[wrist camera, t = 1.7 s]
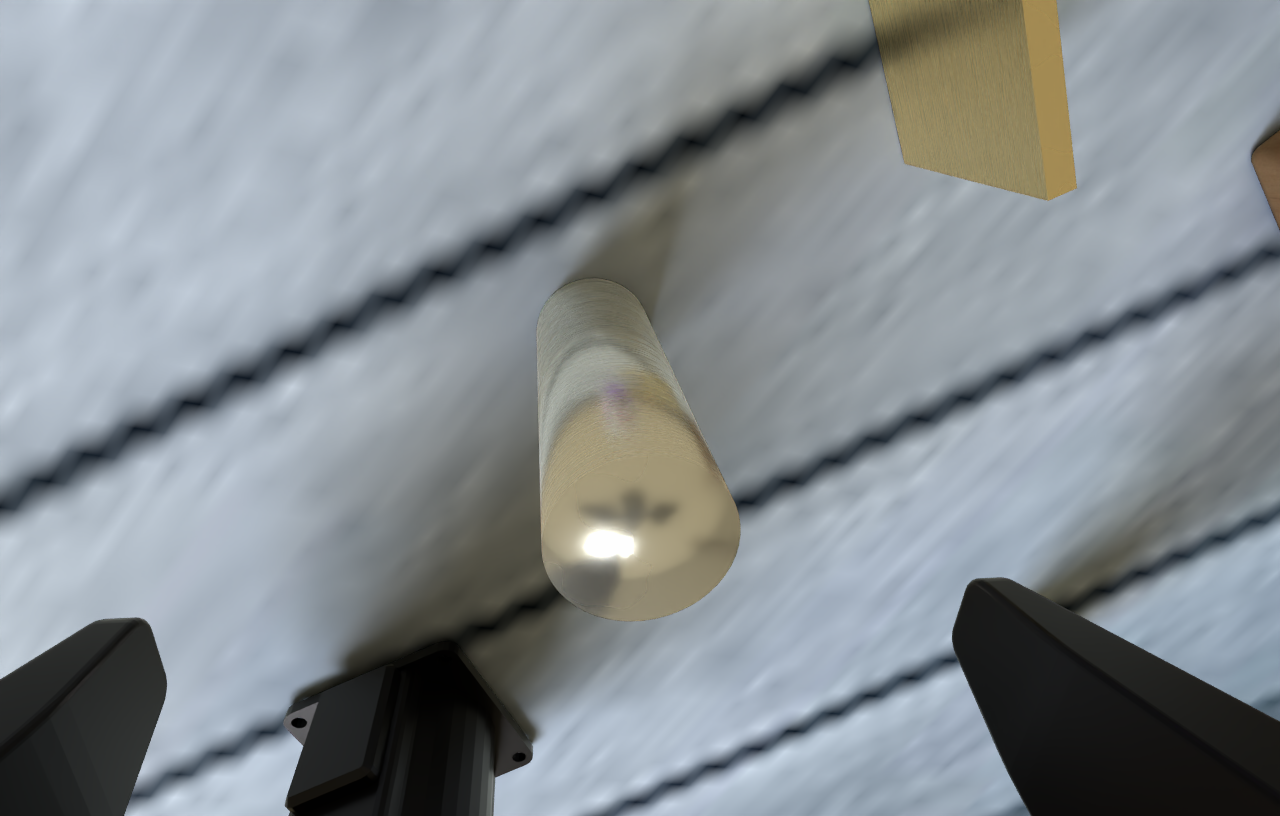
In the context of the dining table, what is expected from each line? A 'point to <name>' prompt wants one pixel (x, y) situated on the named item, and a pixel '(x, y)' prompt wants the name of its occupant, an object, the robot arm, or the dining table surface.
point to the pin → (623, 464)
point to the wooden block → (1269, 171)
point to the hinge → (979, 90)
